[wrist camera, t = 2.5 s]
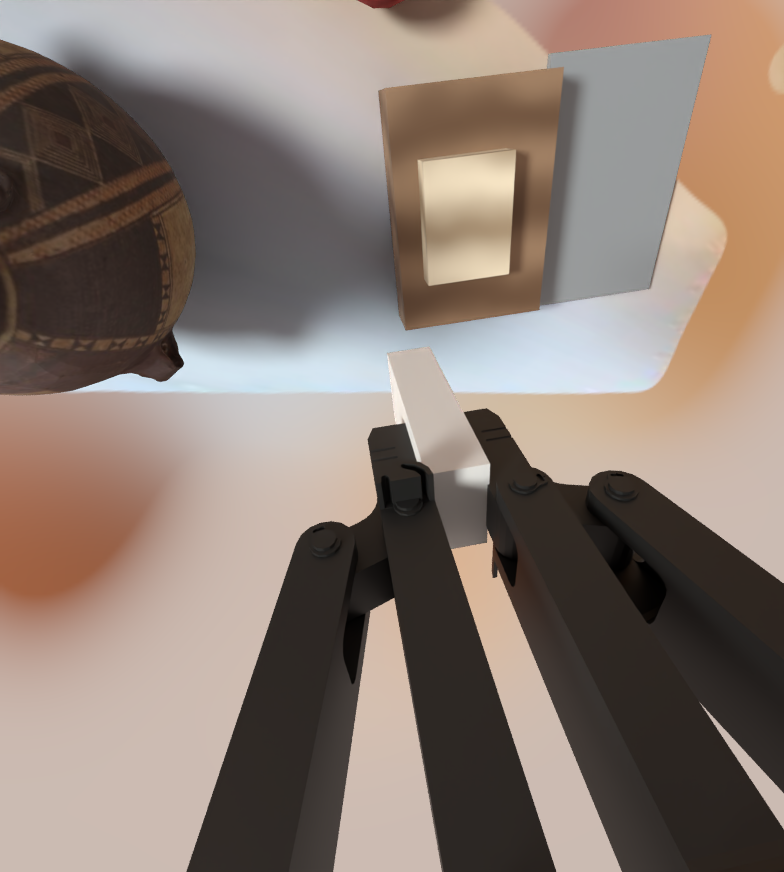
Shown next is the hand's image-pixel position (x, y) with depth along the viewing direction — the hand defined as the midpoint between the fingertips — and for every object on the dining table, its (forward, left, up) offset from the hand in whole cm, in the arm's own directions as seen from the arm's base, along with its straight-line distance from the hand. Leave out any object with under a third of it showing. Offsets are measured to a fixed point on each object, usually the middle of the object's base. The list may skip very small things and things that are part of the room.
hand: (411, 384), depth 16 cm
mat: (0, +23, -29) cm, 37 cm away
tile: (0, +9, -25) cm, 27 cm away
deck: (0, +10, -29) cm, 31 cm away
